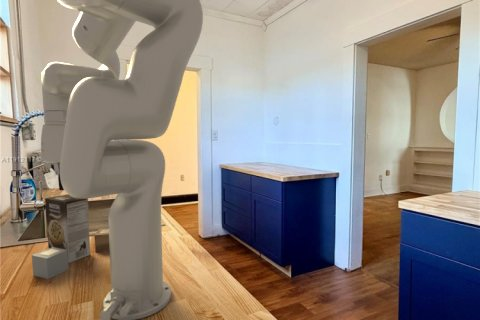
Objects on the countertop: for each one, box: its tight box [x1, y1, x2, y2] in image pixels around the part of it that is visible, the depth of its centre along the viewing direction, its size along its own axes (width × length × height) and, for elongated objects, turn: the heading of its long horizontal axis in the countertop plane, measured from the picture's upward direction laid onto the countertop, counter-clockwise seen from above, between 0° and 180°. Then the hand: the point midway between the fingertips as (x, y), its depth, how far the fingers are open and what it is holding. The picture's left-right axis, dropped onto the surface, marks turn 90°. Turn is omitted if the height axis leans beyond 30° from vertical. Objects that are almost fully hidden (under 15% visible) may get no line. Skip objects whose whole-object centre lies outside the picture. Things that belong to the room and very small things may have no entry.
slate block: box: [31, 247, 69, 280], centre depth 67 cm, size 5×5×5 cm
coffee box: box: [44, 193, 91, 264], centre depth 75 cm, size 9×6×16 cm
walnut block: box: [93, 228, 110, 253], centre depth 81 cm, size 5×5×5 cm
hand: (66, 189), depth 74 cm, fingers closed
